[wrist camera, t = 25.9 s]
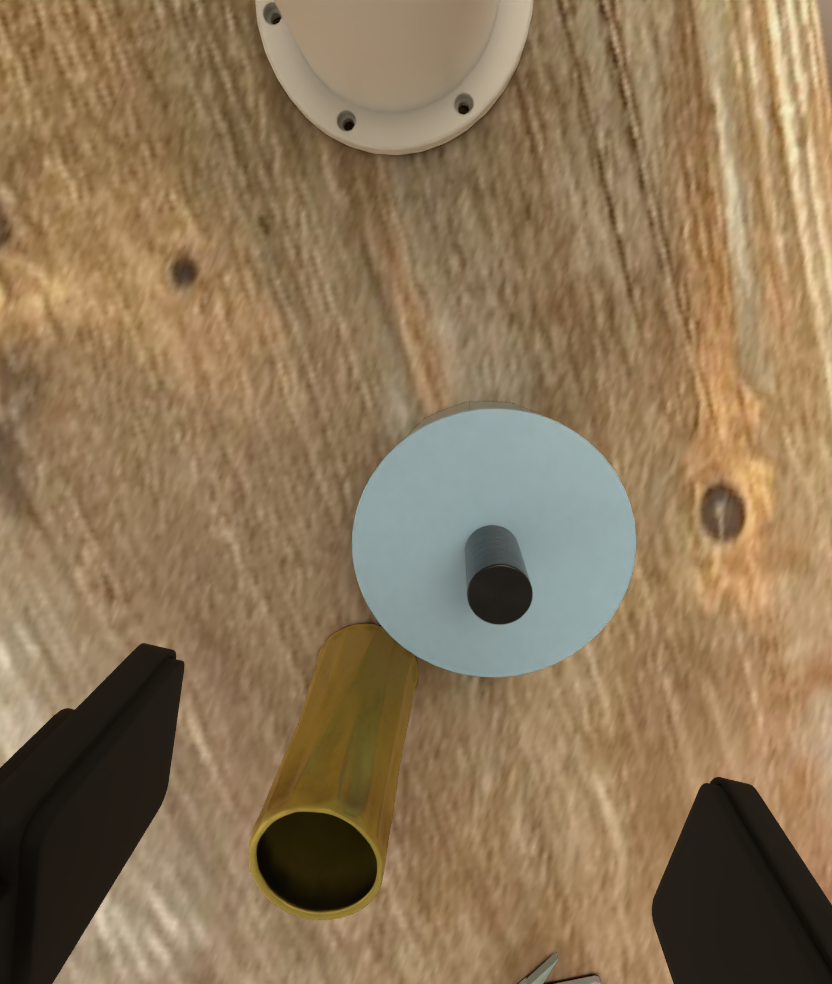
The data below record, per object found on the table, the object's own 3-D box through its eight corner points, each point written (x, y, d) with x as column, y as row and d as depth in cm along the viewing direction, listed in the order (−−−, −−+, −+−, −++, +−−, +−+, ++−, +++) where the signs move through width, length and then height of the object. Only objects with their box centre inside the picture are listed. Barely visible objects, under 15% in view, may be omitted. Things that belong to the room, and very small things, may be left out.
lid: (421, 358, 27) (411, 363, 21) (681, 476, 27) (744, 514, 21) (315, 602, 30) (281, 667, 24) (551, 704, 30) (575, 793, 24)
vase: (353, 602, 36) (290, 766, 22) (439, 660, 36) (429, 855, 23) (298, 677, 37) (205, 876, 23) (381, 731, 38) (338, 957, 24)
